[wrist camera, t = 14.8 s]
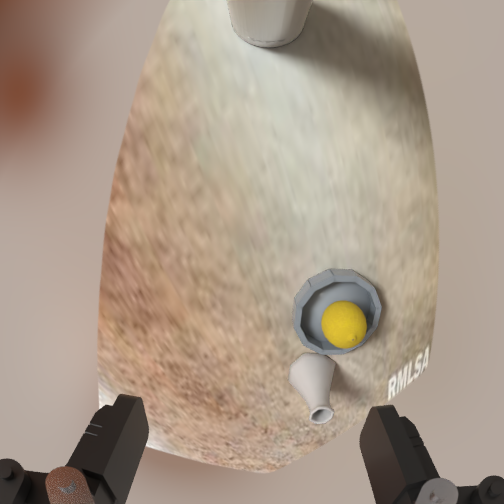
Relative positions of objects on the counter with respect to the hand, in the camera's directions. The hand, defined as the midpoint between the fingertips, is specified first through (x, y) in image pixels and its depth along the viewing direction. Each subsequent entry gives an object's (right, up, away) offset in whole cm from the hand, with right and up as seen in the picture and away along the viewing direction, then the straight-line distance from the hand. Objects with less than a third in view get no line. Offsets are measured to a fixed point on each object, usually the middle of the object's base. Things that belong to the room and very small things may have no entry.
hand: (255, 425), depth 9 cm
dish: (+11, -2, +32) cm, 34 cm away
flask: (+9, -12, +35) cm, 38 cm away
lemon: (+11, -2, +31) cm, 33 cm away
